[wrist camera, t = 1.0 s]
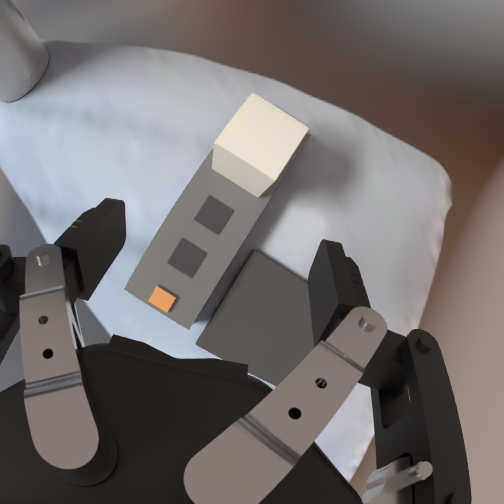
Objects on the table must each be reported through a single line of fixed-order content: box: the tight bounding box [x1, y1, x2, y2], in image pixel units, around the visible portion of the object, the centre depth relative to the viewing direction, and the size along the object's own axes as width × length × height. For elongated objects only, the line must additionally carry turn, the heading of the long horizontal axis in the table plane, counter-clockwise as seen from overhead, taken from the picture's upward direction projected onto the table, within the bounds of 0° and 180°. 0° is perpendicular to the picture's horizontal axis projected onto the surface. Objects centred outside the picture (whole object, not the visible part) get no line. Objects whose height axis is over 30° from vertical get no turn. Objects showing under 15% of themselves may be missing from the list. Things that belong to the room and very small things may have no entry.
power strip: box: [124, 133, 310, 330], centre depth 28 cm, size 7×22×3 cm, turn 148°
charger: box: [212, 93, 309, 198], centre depth 25 cm, size 5×5×9 cm
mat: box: [196, 250, 314, 386], centre depth 30 cm, size 11×11×1 cm
